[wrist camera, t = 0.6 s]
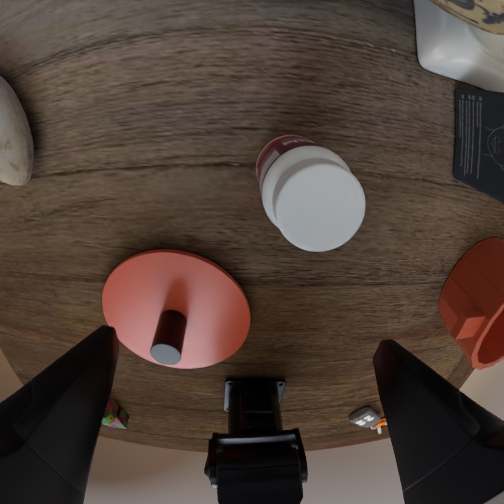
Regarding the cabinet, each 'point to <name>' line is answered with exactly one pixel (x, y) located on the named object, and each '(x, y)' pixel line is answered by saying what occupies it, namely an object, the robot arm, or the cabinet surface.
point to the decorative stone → (14, 139)
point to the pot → (477, 303)
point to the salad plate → (458, 48)
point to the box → (480, 140)
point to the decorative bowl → (476, 13)
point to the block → (114, 416)
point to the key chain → (367, 419)
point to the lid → (176, 308)
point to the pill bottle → (309, 193)
